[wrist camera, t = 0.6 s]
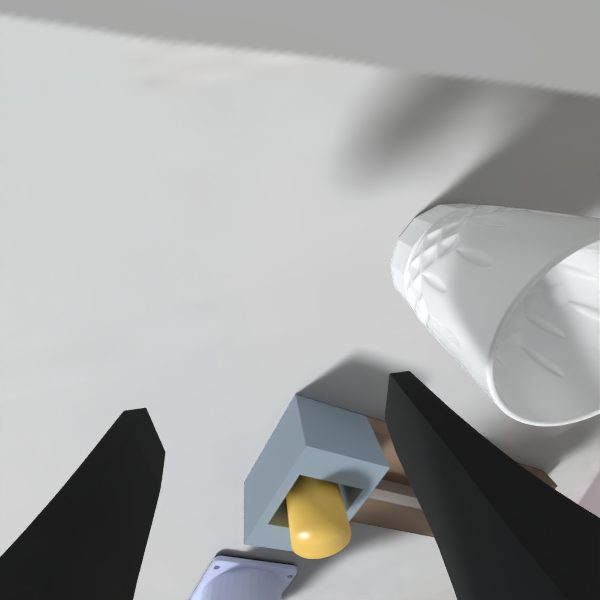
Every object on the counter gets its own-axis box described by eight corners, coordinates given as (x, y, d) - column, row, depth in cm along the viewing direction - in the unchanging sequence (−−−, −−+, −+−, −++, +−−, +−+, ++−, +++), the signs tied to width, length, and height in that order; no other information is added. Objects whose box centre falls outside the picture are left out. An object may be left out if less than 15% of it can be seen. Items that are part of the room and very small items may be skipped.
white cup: (370, 214, 19) (485, 269, 10) (500, 174, 19) (733, 192, 10) (390, 330, 22) (490, 451, 13) (501, 295, 22) (676, 390, 13)
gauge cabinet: (311, 496, 27) (323, 556, 23) (244, 482, 26) (243, 544, 22) (366, 416, 25) (390, 467, 21) (295, 394, 23) (305, 445, 19)
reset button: (320, 500, 24) (333, 562, 20) (275, 491, 23) (281, 554, 19) (344, 466, 23) (362, 524, 19) (298, 455, 22) (309, 514, 18)
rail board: (484, 532, 33) (501, 560, 31) (311, 496, 27) (317, 527, 25) (543, 471, 31) (567, 496, 29) (366, 416, 25) (378, 442, 23)
